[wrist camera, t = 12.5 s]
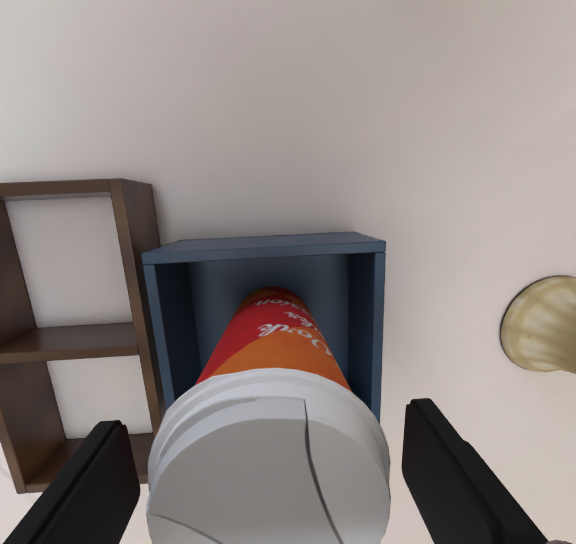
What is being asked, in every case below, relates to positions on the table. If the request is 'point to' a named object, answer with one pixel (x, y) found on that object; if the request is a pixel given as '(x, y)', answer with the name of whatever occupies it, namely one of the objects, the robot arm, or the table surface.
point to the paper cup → (269, 442)
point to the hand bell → (543, 326)
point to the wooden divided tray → (70, 336)
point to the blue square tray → (265, 273)
